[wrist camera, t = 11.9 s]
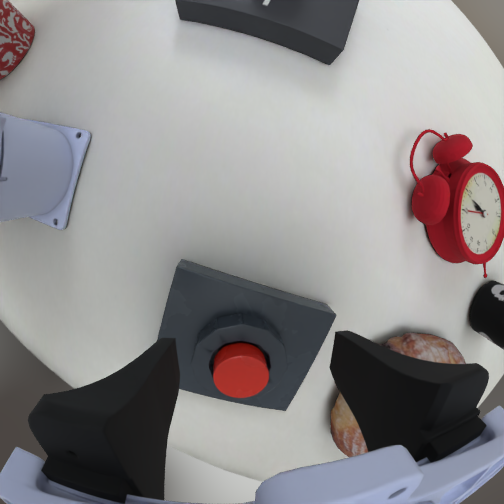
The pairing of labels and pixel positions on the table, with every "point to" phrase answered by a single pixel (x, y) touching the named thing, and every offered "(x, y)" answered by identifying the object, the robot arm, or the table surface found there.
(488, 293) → the beverage can
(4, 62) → the mug
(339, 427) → the bread
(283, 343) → the button box
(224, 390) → the button
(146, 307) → the table surface
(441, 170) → the alarm clock
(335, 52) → the panel
